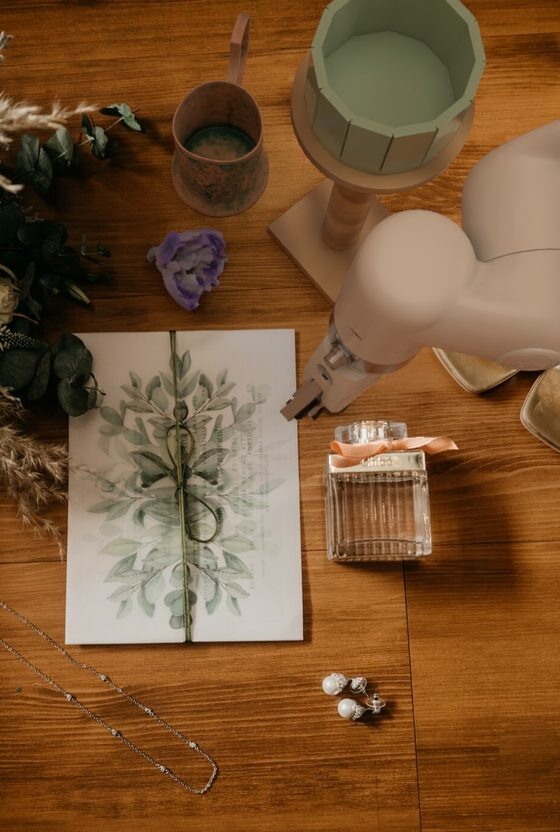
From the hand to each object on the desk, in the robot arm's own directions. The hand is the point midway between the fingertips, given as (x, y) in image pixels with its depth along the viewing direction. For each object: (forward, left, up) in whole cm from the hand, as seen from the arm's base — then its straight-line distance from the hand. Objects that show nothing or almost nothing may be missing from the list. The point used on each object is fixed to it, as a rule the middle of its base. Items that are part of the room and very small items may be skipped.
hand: (342, 376), depth 72 cm
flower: (+4, -22, -11) cm, 25 cm away
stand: (-13, -14, -11) cm, 22 cm away
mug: (-10, -31, -11) cm, 34 cm away
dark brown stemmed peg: (0, 0, -11) cm, 11 cm away
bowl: (-13, -14, +15) cm, 25 cm away
